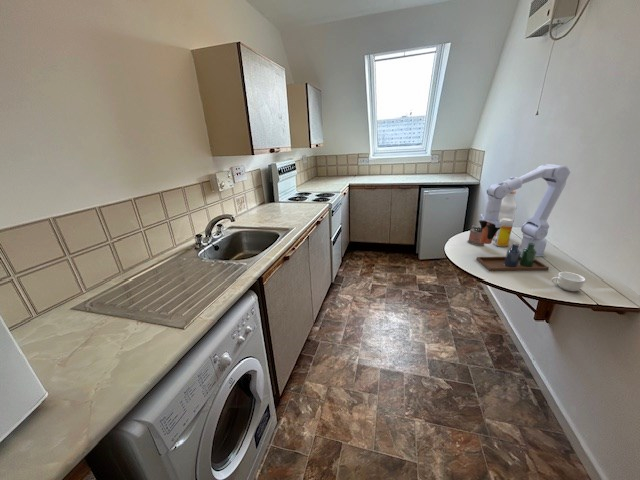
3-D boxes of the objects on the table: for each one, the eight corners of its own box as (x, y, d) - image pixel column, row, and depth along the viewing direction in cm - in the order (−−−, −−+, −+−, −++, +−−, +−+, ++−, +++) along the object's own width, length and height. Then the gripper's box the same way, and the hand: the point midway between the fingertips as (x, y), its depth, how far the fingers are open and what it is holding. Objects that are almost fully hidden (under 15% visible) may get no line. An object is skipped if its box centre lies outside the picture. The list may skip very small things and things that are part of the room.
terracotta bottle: (488, 240, 135) (492, 220, 131) (493, 243, 130) (498, 223, 126) (478, 240, 135) (482, 220, 131) (483, 244, 130) (487, 223, 126)
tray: (529, 259, 129) (530, 256, 128) (547, 271, 118) (549, 267, 117) (475, 260, 130) (476, 257, 129) (488, 272, 120) (489, 268, 119)
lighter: (484, 244, 147) (488, 227, 144) (482, 246, 145) (485, 229, 142) (469, 240, 153) (472, 224, 149) (466, 242, 151) (469, 225, 147)
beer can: (509, 247, 143) (516, 220, 137) (498, 247, 143) (504, 221, 138) (502, 242, 149) (509, 217, 143) (491, 243, 149) (497, 217, 143)
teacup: (573, 284, 108) (577, 272, 106) (585, 294, 101) (590, 282, 99) (544, 281, 111) (548, 270, 109) (554, 291, 104) (558, 279, 102)
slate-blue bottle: (512, 262, 126) (517, 242, 122) (519, 267, 122) (525, 246, 118) (501, 262, 126) (506, 242, 122) (508, 267, 122) (513, 246, 118)
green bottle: (527, 262, 126) (533, 241, 122) (535, 267, 121) (541, 246, 117) (516, 262, 126) (522, 241, 122) (523, 267, 121) (529, 246, 118)
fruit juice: (486, 236, 158) (496, 190, 147) (497, 234, 160) (508, 188, 150) (500, 242, 149) (512, 193, 139) (512, 239, 152) (525, 191, 142)
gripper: (476, 206, 133) (471, 231, 138) (492, 214, 120) (486, 242, 125) (490, 205, 133) (485, 231, 138) (508, 214, 119) (501, 242, 124)
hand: (486, 236), depth 131 cm, fingers closed on terracotta bottle, 5 cm apart
